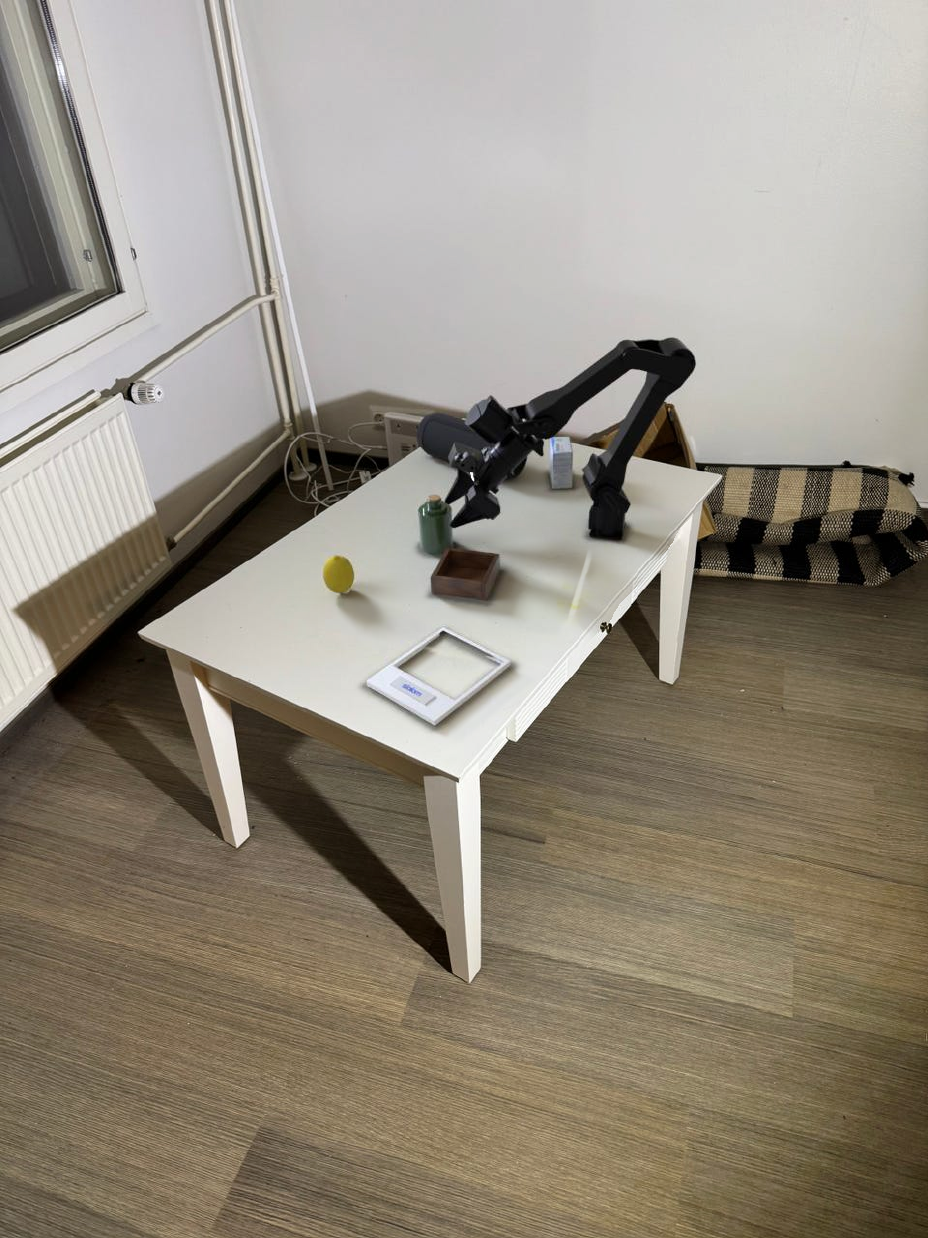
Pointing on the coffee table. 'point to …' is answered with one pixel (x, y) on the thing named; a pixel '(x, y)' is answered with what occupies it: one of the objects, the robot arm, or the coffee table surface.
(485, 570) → the crate
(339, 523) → the coffee table surface
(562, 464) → the medicine box
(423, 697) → the photo frame
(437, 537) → the bottle
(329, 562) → the lemon
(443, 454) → the portable speaker
